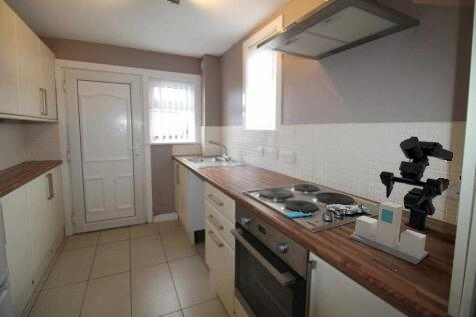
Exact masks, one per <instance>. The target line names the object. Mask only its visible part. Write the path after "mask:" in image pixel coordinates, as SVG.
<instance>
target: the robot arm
mask: <svg viewBox="0 0 476 317" xmlns="http://www.w3.org/2000/svg"><path fill="white" fill-rule="evenodd" d="M399 148H400V149H401V151H402V153H403V155H404V157H405V158H406V159H408V161H405V160H402V161H400V164H399V168H398V170H399V171H400V172H399V175H400V176H395V174H394V172H393V171H392V172H391V171H386V170H383V171H381V172H380V174H379V175H378V176H379V179H380V180H381V184H382V185H384V187H385V195H386V196H385V197H386V199H389V197H390V196H391V193H392V192H393V189H394V185H395V183H399V184H405V185H409V186H413V188H412V189H410V190H407V193H406V194H405V195H404V197H403V200H402V201H403V209H405V210H408V211H409V213H408V215H409V216H408V221H406V222H404V225H405V226H408V227H410V228H411V227H412V228H414V229H417V230H420V231H424V230H427V229H429V228H430V227H431V226H430V225H427V221H428V216H432V217H433V216H434V215H435V212H436V208H435V205H434V204H433V199H436V197H438V196H442V195H443V192H445V191H447V189H449V188H448V185H449V180H448V179H444V178H439V177H438V178H437V179H435V178H431V177H430V178H426V180H425V181H422V179H423V178H424V173H425V171H426V169H427V167H429V166H430V162H429V160H430V159H429V157H430V158H436V159H438V160H441V161H443V160H447V161H452V158H453V151H451V150H447V149H446V148H444V145H442V144H441V143H440V142H439V141H438V142H437V141H427V140H425V141H424V140H419V138H418V136H413V135H412V136H410V138H406V139H404V140H402V141H400V143H399ZM460 180H461V176H460Z"/></svg>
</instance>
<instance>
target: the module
mask: <svg viewBox="0 0 476 317" xmlns="http://www.w3.org/2000/svg"><path fill="white" fill-rule="evenodd" d="M403 209H404V204H403V205H402V204H398V203H395V202H390V201H387V200H386V201H383V202H380V203H379V209H378V217H377V220H378V223H377V231H376V233H377V234H376V241H378V242H380V243H383V244H386V245H388V246H391V247H393V246H394V245H396V244H397V243H398V241H399V238H400V237H399V236H400V229H401V224H402V223H401V222H402V215H403Z"/></svg>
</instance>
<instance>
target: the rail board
mask: <svg viewBox="0 0 476 317" xmlns="http://www.w3.org/2000/svg"><path fill="white" fill-rule="evenodd" d="M377 225H378V219H375V218H373V217H370V216H366V215H362V216H359V217H357V218H355V228H354V232H353V233H352V234H350V235H349V238H350V239H352V240H355V241H358V242H360V243H363V244H365V245H367V246H369V247H372V248H375V249H376V250H379V251H382V252H385V253H387V254H390V255H391V256H394V257H397V258H398V259H402V260H404V261H406V262H409V263H412V264H415V265H417V264H418V263H420V262H421V261H422V260H423V259H424V258H426V257H427V255H428V254H429V251H426V250H425V246H426V240H427V235H426V234H423V233H419V232H418V231H417V232H416V231H413V230H410V229H406V230H404V231H402V232H400V237H399V238H400V239H399V240H398V243H397V244H396V245H394V246H393V247H391V246H388V245H386V244H383V243H380V242H378V241H376V234H377Z"/></svg>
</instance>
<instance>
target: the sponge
mask: <svg viewBox="0 0 476 317" xmlns="http://www.w3.org/2000/svg"><path fill="white" fill-rule="evenodd" d="M309 215H312V216H313V213H311V212H310V213H309V214H302V213H299V212H297V211H291V212H287V213H285V214H284V217H287V218H288V219H291V218H292V219H297V218H296V217H299V218H304V217H303V216H307V217H310V216H309Z"/></svg>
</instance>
